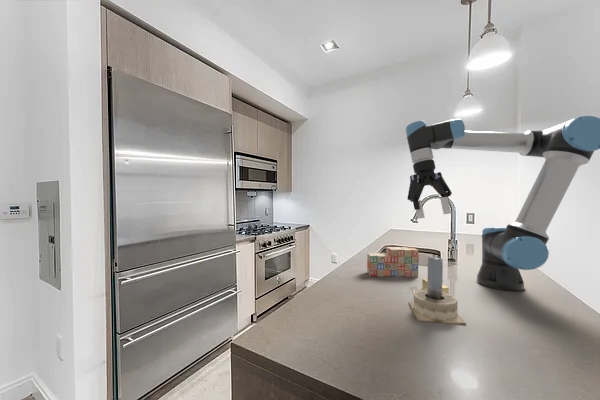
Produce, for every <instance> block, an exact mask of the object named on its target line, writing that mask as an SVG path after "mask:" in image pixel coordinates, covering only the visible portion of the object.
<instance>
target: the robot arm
mask: <svg viewBox="0 0 600 400" xmlns="http://www.w3.org/2000/svg"><path fill="white" fill-rule="evenodd" d="M405 133H406V140H407V144H408V149H409V153H410V157H411V162H412V164H413V165H412V169H413V172H414V174H411V175H409V181H410V183H409V187H408V194H407V198H406V199H407V200H408V201H410V202H411V203H413V204H412V205H413V209H414V210H415V212H416V218H417V220H418V219H425V212H424V208H423V203H422V200H421V198H420V197H421V195H422V193H423V190H424V189H425V186H430V187H432V188H433V189H434V190H435V191H436V193H438V195H439V196H440V198H439V199H440V203H441V204H440V205H441V208H442V213H443V215H448V214H452V210H451V207H450V205H451V203H450V199H449V197H451V196H452V194H453V192H452V190H451V189H450V187H449V185H448V184H447V183H446V181H445V178H443V174H442V172H441V171H439V172H435V170H436V164H435V163H436V162H435V160H434V154H433V150H439V149H451V150H452V149H454V150H468V151H469V150H471V151H483V152H484V151H486V152H503V153H517V154H519V155H520V156H522V157H523V156H524V157H536V158H537V157H539V158H544V159H545V161H544V163H543V164H542V167H541V169H540V171H539V173H538V174H537V177H536V179H535V181H534V183H533V185H532V187H531V189H530V191H529V192H528V195H527V197H526V199H525V201H524V203H523V205H522V207H521V209H520V211H519V213H518V215H517V217H516V219H515V220H514V221H513V222H511V223H508V224H507V226H506V227H484V228H483V229H482V231H481V233H482V234H481V243H482V244H481V255H482V256H481V265H480V268H479V270H478V273H477V275H476V282H477V283H478V284H480V285H482V286H484V287H488V288H492V289H496V290H503V291H511V292H512V291H513V292H514V291H515V292H516V291H523V290H524V289H525V282H524V281H525V280H523V276H522V274H521V272H520V270H523V271H531V270H535V269H539V268H540V267H542V266H544V264H546V262H547V260H548V259H549V255H550V254H549V252H550V251H549V249H548V246H547V243H548V241H549V239H550V237H549V236H548V234H547V230H548V228H549V226H550V225H551V223H552V221H553V219H554V217H555V214H556V212H557V211H558V209H559V207H560V205H561V202H562V200H563V199H564V197H565V195H566V193H567V191H568V190H569V187H570V185H571V183H572V181H573V179H574V178H575V176H576V174H577V171H578V169H579V168H580V167H581V166H583V165H586V164H588V163H589V162H590V159H592V156H593V154H594V153H595V151H598V150H600V117H598V116H594V115H582V116H578V117H574V118H570V119H568V120H567V121H565V122H563V123H561V124H560V123H559V124H557V125H555V126H552V127H550V128H546V129H542V130H527V131H525V132H504V131H503V132H499V131H477V130H475V131H474V130H473V131H472V130H466V127H465V122H464V120H462V119H461V118H454V119H448V120H445V121H441V122H437V123H433V124H427V122H426V121H425V120H418V121H417V120H416V121H413V122H410V124H408V125H407V126H406V128H405Z"/></svg>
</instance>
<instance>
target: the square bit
mask: <svg viewBox="0 0 600 400" xmlns="http://www.w3.org/2000/svg"><path fill="white" fill-rule="evenodd" d="M427 282H428V278H422V288H421V290H427ZM449 290H450V288H449V287H448V286H447V285H445V284H443V283H442V292H444V293H447V294H449V295H450V293H449V292H450V291H449Z"/></svg>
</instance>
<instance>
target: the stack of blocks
mask: <svg viewBox="0 0 600 400" xmlns="http://www.w3.org/2000/svg"><path fill="white" fill-rule="evenodd" d="M366 258H367V261H366V264H367V265H366V271H367V272H368V273H369V274H368V273H367V272H366V273H367V274H368V275H369V276H370V277H385V276H406V277H405V278H419V262H420V261H419V260H420V258H419V249H417V248H415V247H408V246H396V247H395V246H393V247H392V246H387V247H386V252H385V253H379V252H375V253H372V252H368V253H367V256H366Z"/></svg>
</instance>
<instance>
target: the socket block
mask: <svg viewBox="0 0 600 400" xmlns="http://www.w3.org/2000/svg"><path fill="white" fill-rule="evenodd" d="M408 304H409V306H410V309H411V310H412V312H413V314H414V316H415V318H416V319H417V321H419V322H420V321H421V322H432V323H441V324H442V323H443V324H453V325H463V326H467V322H466V321H465V320H464V319H463V318H462V316H460V315H459V313H458V299H457V298H456V297H455V296H454V295H451V294H450V293H449V294H447V293H444V292H442V300H434V299H430V298H427V290H423V289H419V290H416V291H415V292H413V301H408Z"/></svg>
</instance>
